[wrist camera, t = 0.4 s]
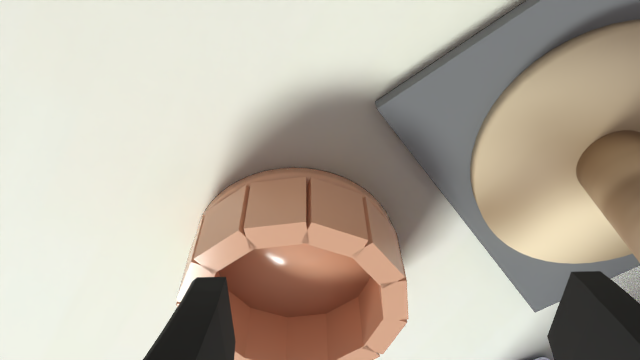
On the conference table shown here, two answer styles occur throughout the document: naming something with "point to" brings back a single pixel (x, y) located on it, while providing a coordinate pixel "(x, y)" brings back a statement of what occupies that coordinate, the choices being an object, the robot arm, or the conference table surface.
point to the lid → (566, 152)
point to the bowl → (303, 266)
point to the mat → (473, 106)
